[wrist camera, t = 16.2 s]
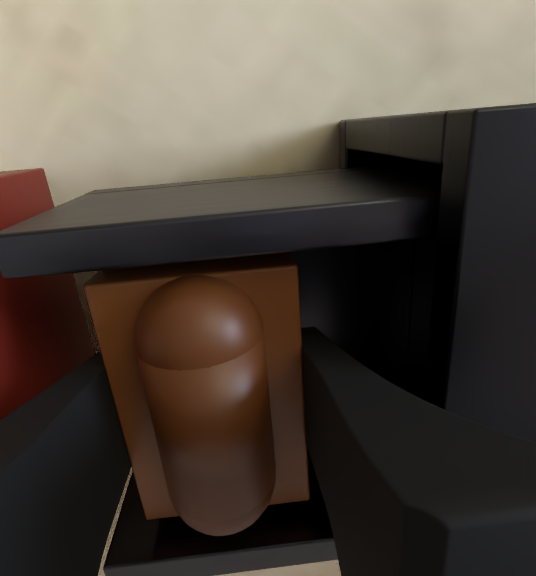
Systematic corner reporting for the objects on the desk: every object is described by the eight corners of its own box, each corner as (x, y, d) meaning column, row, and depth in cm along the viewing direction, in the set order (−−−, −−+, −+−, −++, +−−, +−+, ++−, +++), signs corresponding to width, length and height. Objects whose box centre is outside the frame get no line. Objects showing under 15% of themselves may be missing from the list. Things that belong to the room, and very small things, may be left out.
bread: (294, 421, 13) (320, 550, 9) (164, 436, 13) (133, 574, 9) (281, 229, 11) (309, 289, 7) (122, 244, 10) (53, 315, 6)
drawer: (-37, 467, 15) (-188, 656, 10) (-172, 185, 11) (-551, 238, 6) (411, 416, 16) (502, 565, 10) (431, 134, 12) (594, 138, 6)
